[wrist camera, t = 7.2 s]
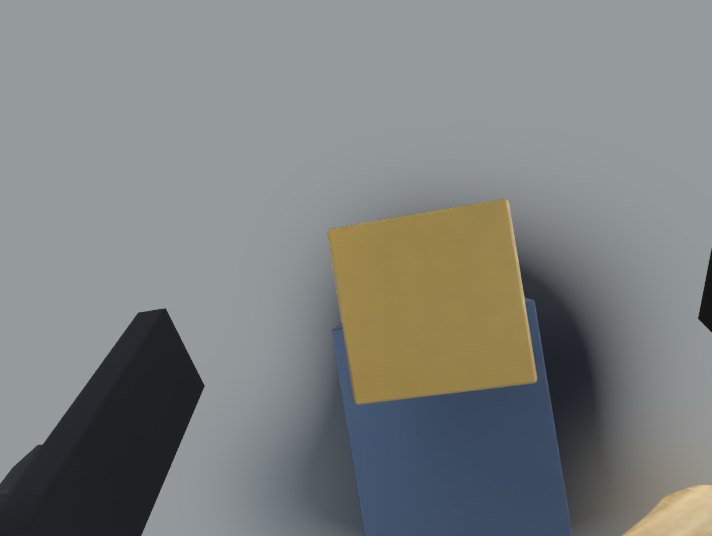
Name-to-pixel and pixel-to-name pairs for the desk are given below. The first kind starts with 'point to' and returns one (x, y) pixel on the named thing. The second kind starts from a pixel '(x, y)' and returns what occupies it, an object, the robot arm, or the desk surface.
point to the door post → (458, 458)
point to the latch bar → (432, 303)
